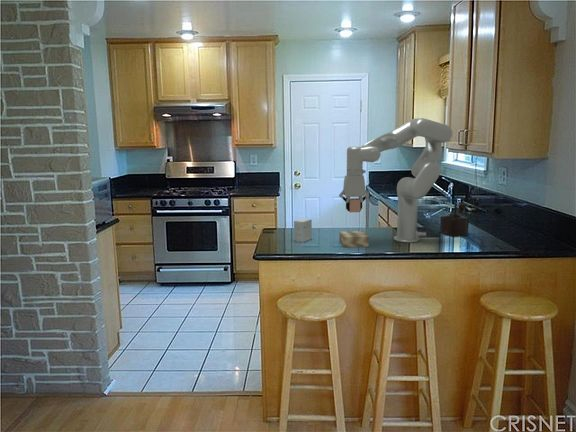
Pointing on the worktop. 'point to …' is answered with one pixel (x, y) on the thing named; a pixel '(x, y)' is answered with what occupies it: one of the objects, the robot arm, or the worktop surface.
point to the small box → (302, 230)
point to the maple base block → (354, 239)
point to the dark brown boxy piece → (455, 223)
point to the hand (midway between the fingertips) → (354, 210)
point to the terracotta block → (354, 204)
